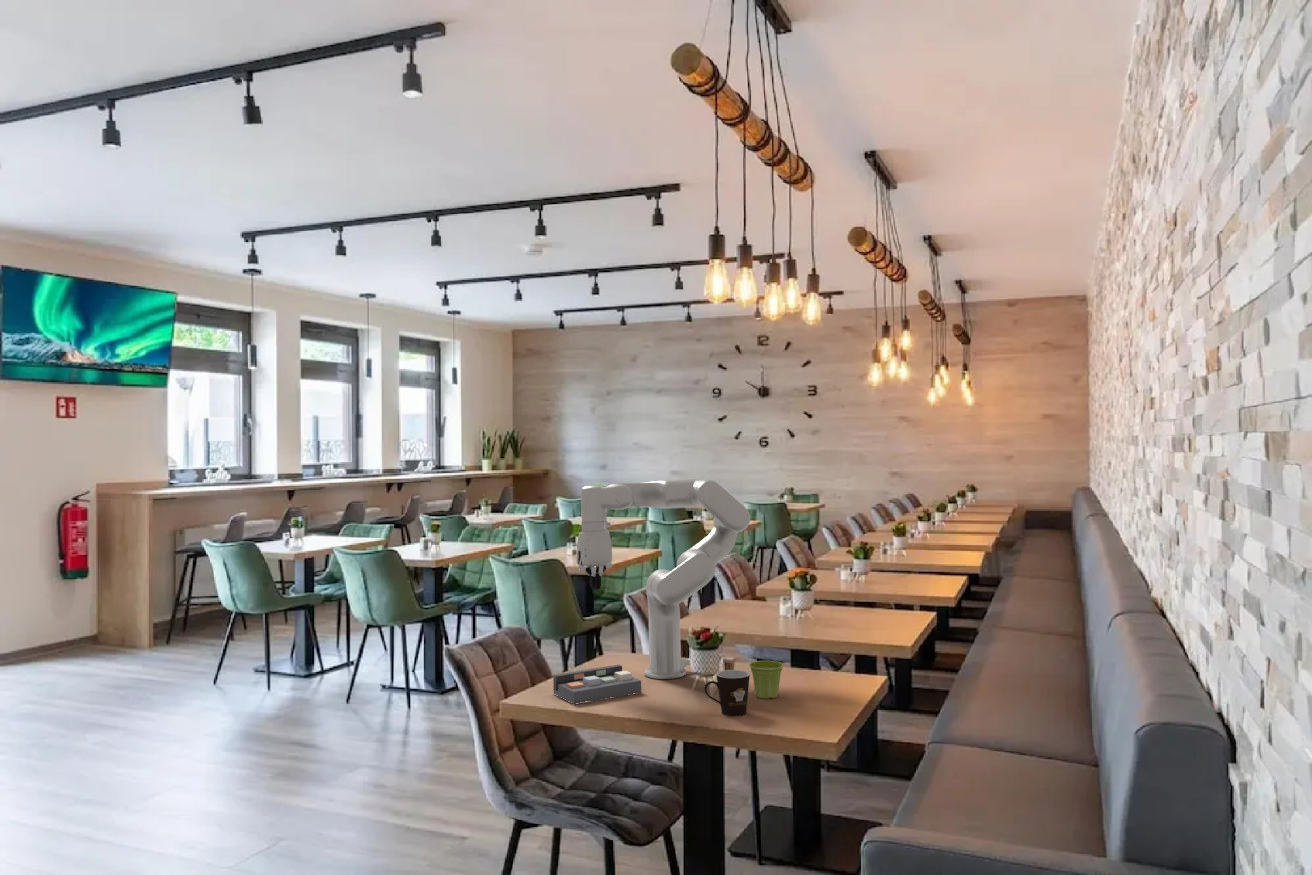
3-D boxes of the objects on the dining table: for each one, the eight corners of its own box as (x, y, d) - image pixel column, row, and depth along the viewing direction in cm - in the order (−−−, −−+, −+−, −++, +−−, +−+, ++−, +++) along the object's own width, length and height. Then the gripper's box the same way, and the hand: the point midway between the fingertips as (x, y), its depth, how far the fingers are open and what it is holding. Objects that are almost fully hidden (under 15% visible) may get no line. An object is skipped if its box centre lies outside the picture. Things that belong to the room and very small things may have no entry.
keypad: (619, 683, 277) (618, 664, 277) (641, 692, 266) (641, 673, 266) (553, 694, 266) (553, 674, 266) (573, 704, 255) (573, 684, 255)
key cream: (625, 678, 271) (625, 670, 271) (631, 681, 268) (631, 673, 268) (614, 680, 269) (614, 672, 269) (620, 683, 266) (620, 674, 266)
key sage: (610, 684, 268) (610, 676, 268) (616, 687, 265) (616, 678, 265) (599, 686, 266) (598, 678, 266) (605, 689, 263) (604, 680, 263)
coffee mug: (750, 708, 248) (749, 670, 248) (750, 717, 239) (749, 678, 239) (706, 707, 249) (705, 669, 249) (704, 717, 240) (703, 678, 241)
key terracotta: (578, 690, 263) (578, 681, 263) (584, 692, 260) (584, 684, 260) (566, 692, 261) (566, 683, 261) (572, 694, 258) (572, 686, 258)
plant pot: (788, 693, 262) (787, 662, 262) (778, 702, 253) (777, 669, 253) (756, 690, 266) (755, 659, 266) (745, 698, 257) (744, 666, 257)
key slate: (594, 684, 266) (594, 675, 266) (600, 686, 263) (600, 678, 263) (583, 686, 264) (582, 677, 264) (588, 688, 261) (588, 680, 261)
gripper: (610, 524, 288) (611, 585, 288) (566, 528, 281) (567, 590, 280) (622, 526, 282) (623, 588, 282) (577, 529, 274) (578, 593, 274)
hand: (595, 588), depth 281 cm, fingers closed
